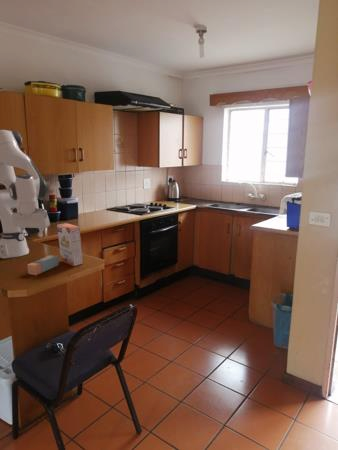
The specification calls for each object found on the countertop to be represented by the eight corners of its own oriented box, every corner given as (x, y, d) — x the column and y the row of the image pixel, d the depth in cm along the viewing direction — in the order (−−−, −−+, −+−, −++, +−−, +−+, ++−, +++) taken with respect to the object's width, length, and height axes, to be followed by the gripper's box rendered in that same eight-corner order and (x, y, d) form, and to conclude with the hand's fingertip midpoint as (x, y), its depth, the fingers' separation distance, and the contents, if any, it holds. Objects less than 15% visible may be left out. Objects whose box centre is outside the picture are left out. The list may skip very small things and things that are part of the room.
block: (28, 274, 174) (27, 264, 172) (34, 271, 177) (33, 261, 176) (36, 275, 171) (34, 265, 170) (42, 272, 175) (40, 262, 174)
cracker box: (60, 261, 191) (56, 224, 187) (70, 259, 196) (66, 222, 191) (73, 267, 182) (69, 228, 177) (83, 264, 186) (79, 225, 181)
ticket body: (34, 271, 177) (33, 261, 176) (51, 264, 188) (50, 254, 187) (42, 272, 175) (41, 262, 174) (58, 264, 186) (57, 255, 185)
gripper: (50, 207, 167) (54, 235, 170) (18, 207, 175) (22, 234, 177) (41, 209, 161) (45, 238, 164) (8, 209, 169) (12, 237, 172)
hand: (33, 236), depth 171 cm, fingers open, 8 cm apart
